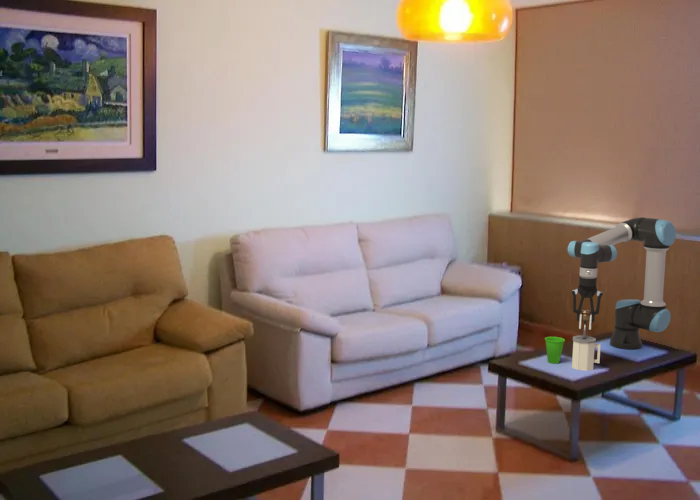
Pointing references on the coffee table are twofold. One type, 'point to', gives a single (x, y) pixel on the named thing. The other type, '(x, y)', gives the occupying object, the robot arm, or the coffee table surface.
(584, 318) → the plunger
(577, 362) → the press
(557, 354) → the cup
